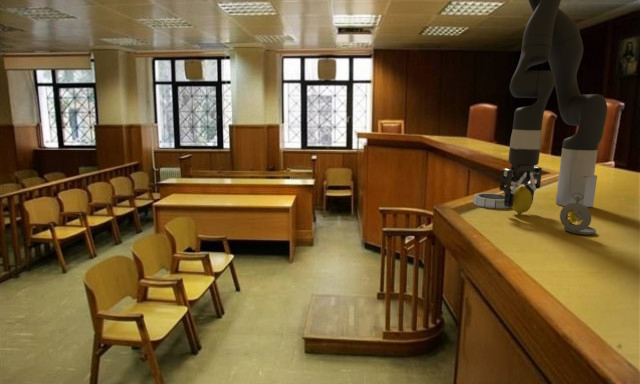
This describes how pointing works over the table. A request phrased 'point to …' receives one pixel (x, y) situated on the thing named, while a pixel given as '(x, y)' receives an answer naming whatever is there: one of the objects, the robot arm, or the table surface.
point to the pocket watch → (577, 217)
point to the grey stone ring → (490, 200)
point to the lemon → (522, 200)
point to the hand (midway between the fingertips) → (518, 205)
